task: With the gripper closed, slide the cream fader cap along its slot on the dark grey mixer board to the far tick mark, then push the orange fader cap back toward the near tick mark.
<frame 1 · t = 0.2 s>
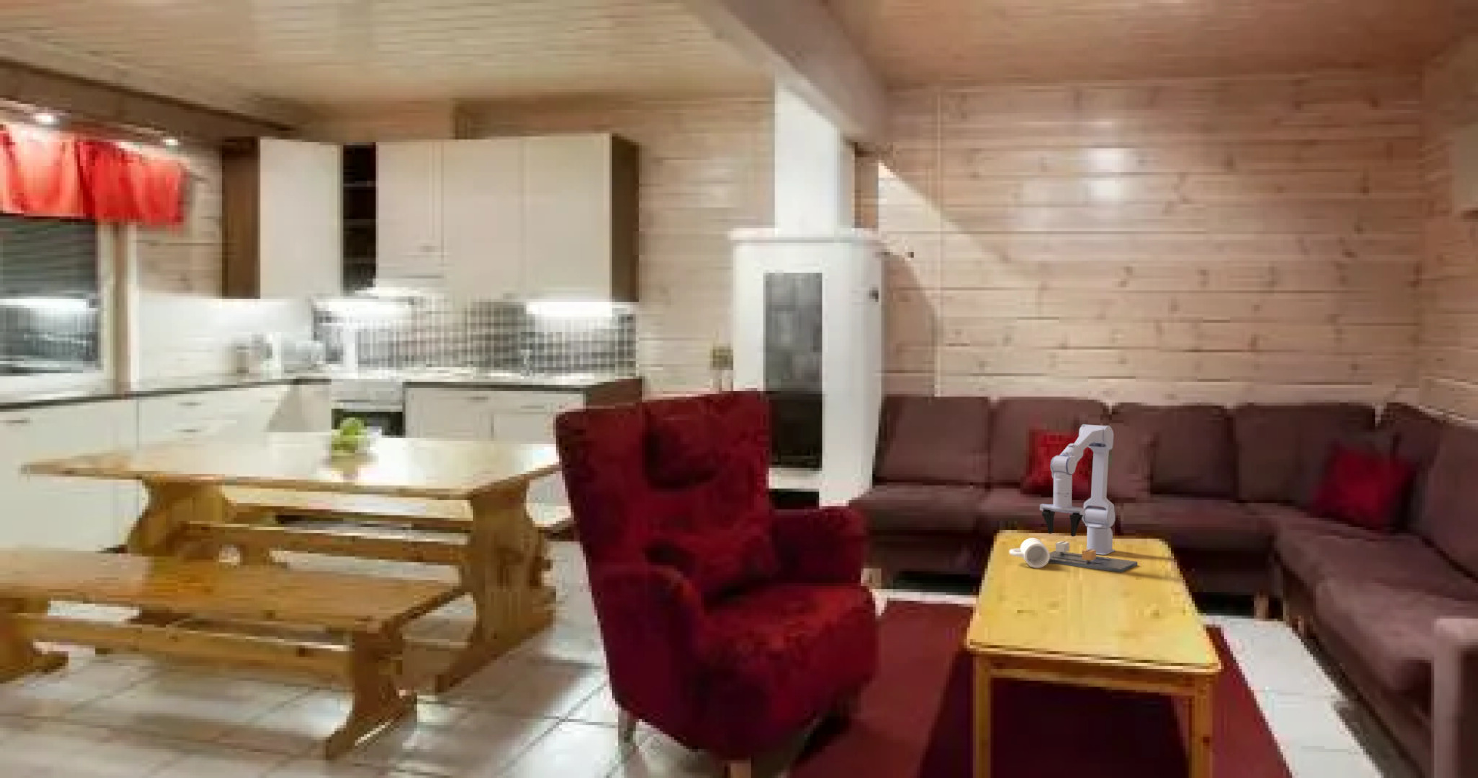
hand: (1062, 534, 369), 10 cm above the table, fingers open, 7 cm apart
mixer board: (1087, 563, 372), on the table
cream fader: (1062, 557, 381), resting on mixer board, slide at 0.0 cm
mug: (1028, 565, 370), on the table
orange fader: (1088, 565, 368), resting on mixer board, slide at 12.0 cm
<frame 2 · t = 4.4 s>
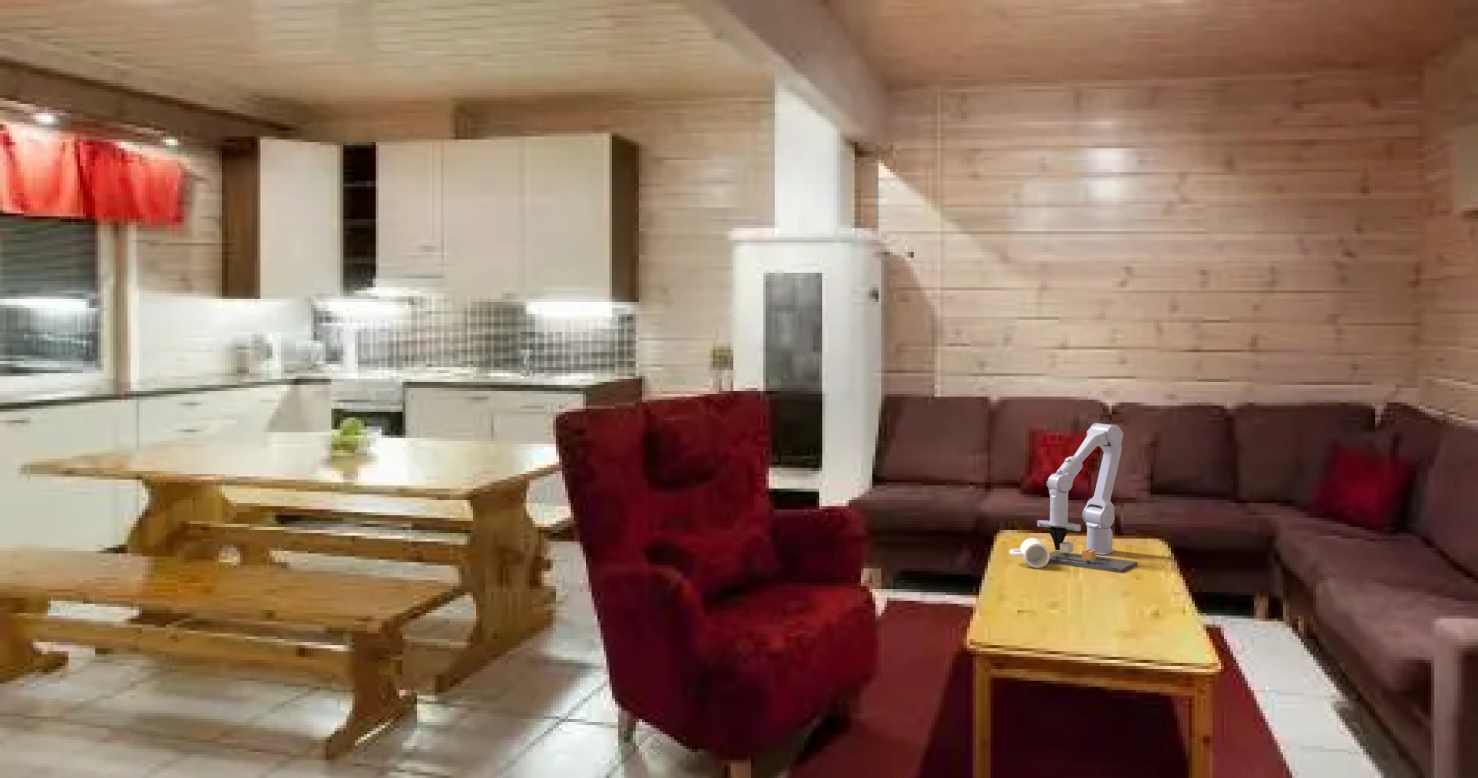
hand: (1058, 549, 382), 2 cm above the table, fingers closed
cream fader: (1066, 558, 380), resting on mixer board, slide at 1.5 cm, touching gripper
everything else where it was.
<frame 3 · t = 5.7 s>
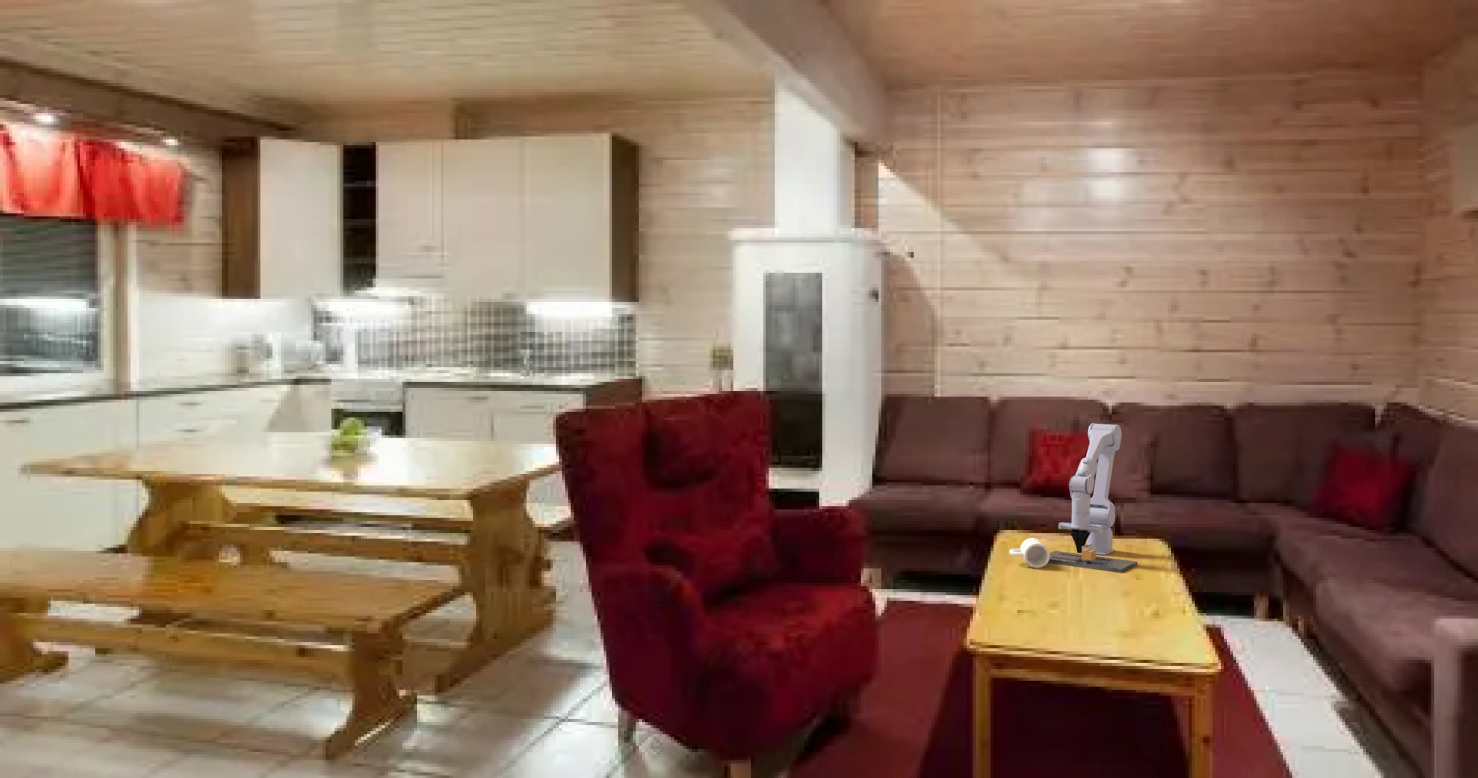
hand: (1080, 552, 377), 2 cm above the table, fingers closed
cream fader: (1088, 561, 375), resting on mixer board, slide at 9.1 cm, touching gripper
everything else where it was.
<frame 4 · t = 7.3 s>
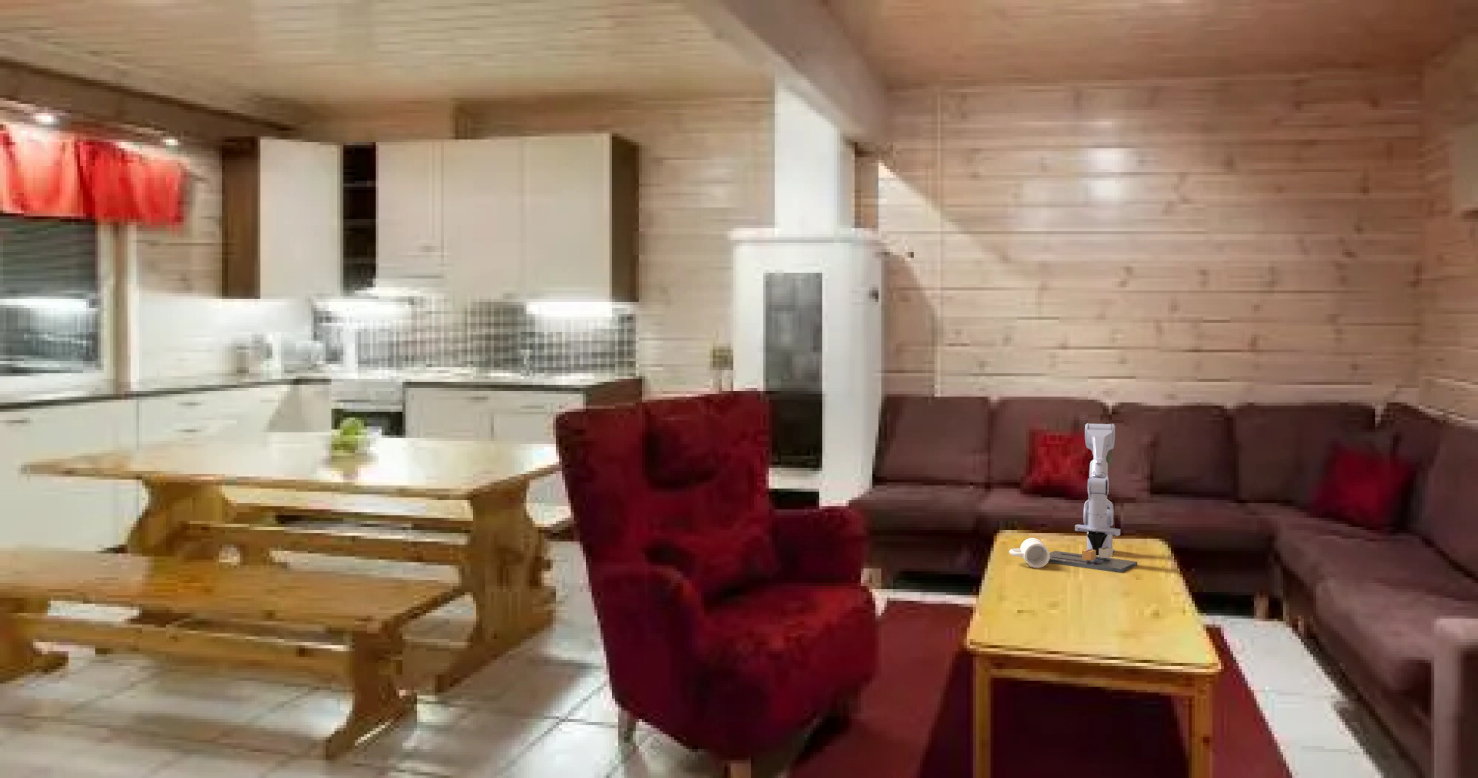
hand: (1096, 554, 373), 2 cm above the table, fingers closed
cream fader: (1105, 563, 372), resting on mixer board, slide at 14.8 cm, touching gripper
everything else where it was.
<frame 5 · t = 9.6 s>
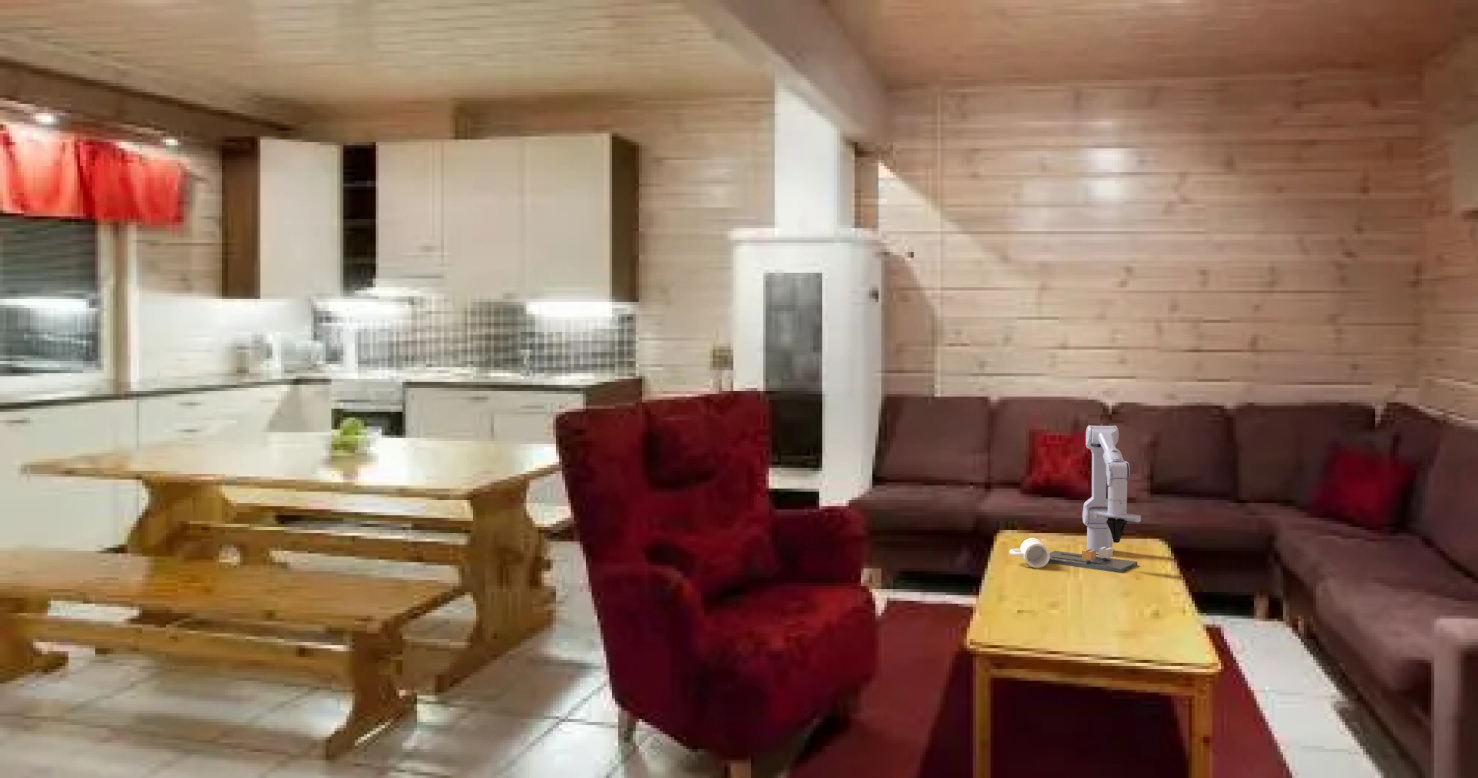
hand: (1116, 542, 362), 9 cm above the table, fingers closed
cream fader: (1105, 563, 372), resting on mixer board, slide at 14.9 cm
everything else where it was.
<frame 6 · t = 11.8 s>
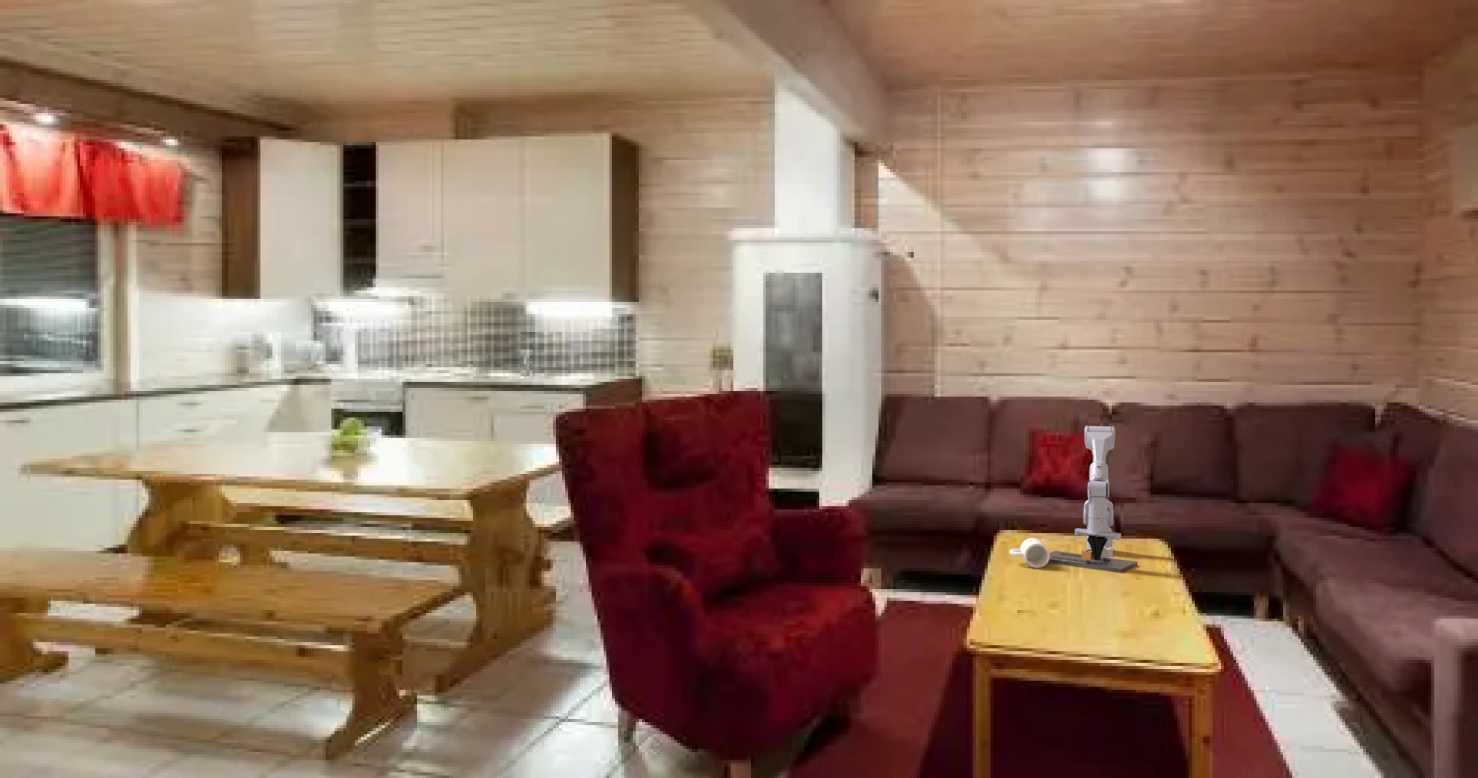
hand: (1097, 559, 366), 2 cm above the table, fingers closed
orange fader: (1088, 565, 368), resting on mixer board, slide at 11.9 cm, touching gripper
everything else where it was.
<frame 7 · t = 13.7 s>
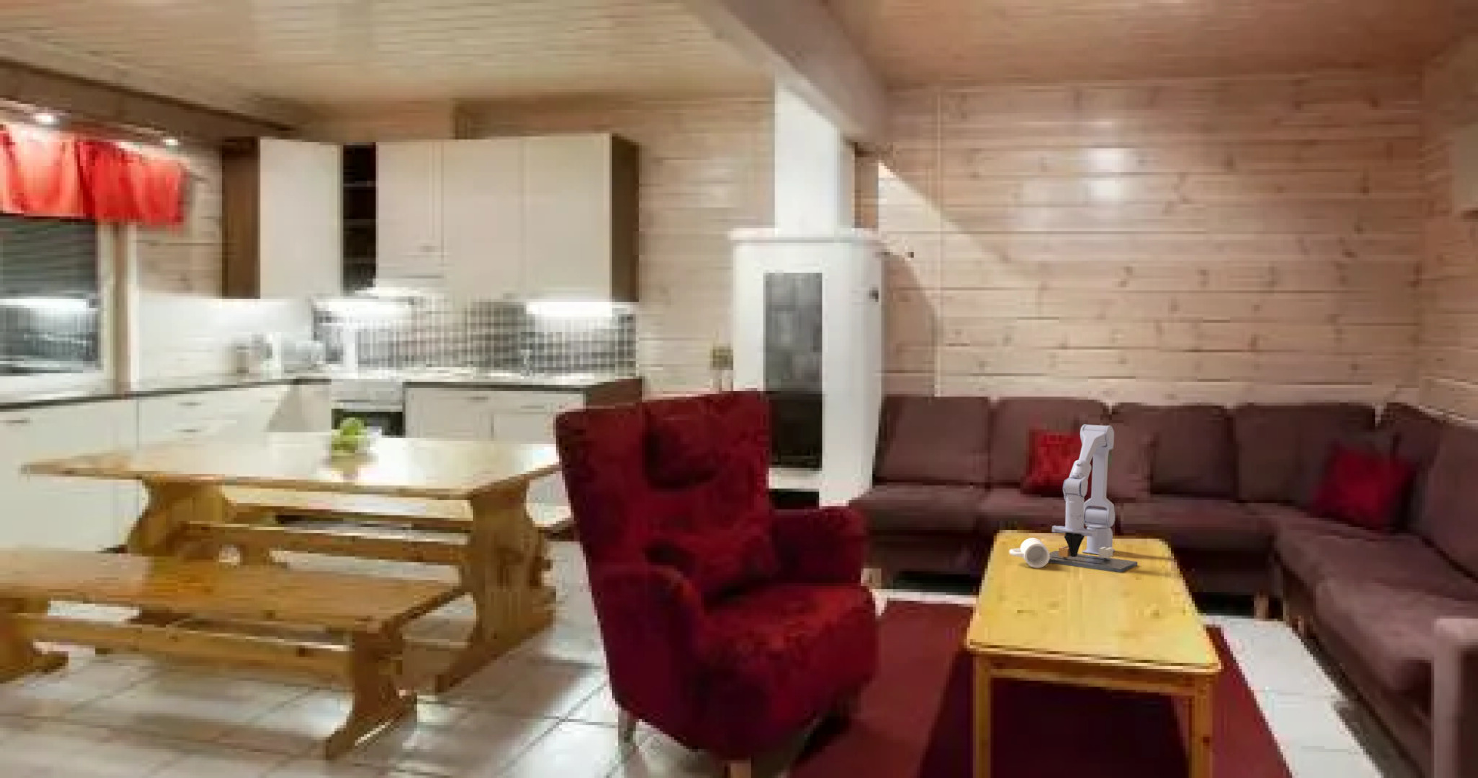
hand: (1074, 556, 371), 2 cm above the table, fingers closed
orange fader: (1065, 562, 373), resting on mixer board, slide at 4.1 cm, touching gripper
everything else where it was.
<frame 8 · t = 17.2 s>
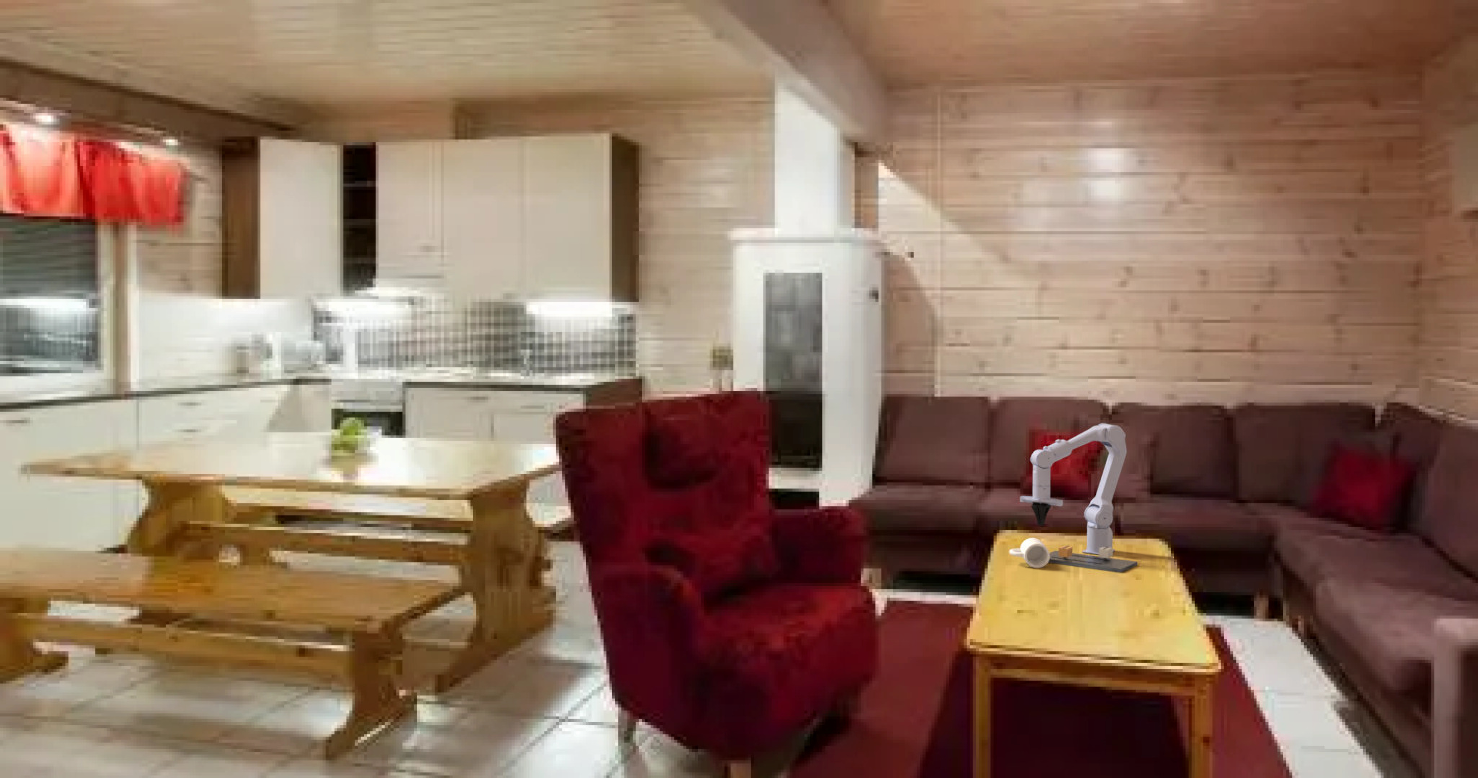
hand: (1040, 525, 386), 10 cm above the table, fingers closed
orange fader: (1065, 562, 373), resting on mixer board, slide at 4.1 cm
everything else where it was.
at the end: cream fader slide at 14.9 cm; orange fader slide at 4.1 cm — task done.
